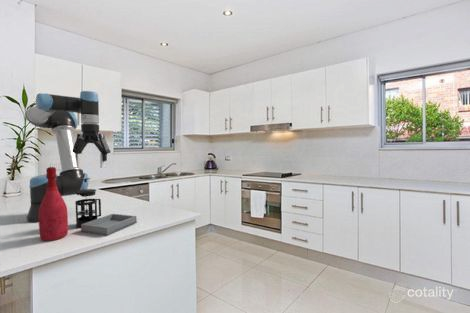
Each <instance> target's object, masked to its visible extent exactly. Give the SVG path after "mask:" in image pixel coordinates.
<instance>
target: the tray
mask: <svg viewBox="0 0 470 313" xmlns="http://www.w3.org/2000/svg"><path fill="white" fill-rule="evenodd" d="M137 220H138V218H137V216H136V215H128V214H119V213H111V214H108V215H105V216H100V217H99V218H97V219H96V220H93V221H90V222H87V223H84V224H81V228H80V229H81V233H84V234H92V235H99V236H104V237H105V236H106V237H107V236H110V235H113V234H115V233H117V232H119V231H122V230H124V229H126V228H128V227H130V226H133V225H136V224H137V222H138V221H137ZM135 223H136V224H135Z"/></svg>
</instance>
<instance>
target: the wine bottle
mask: <svg viewBox="0 0 470 313" xmlns="http://www.w3.org/2000/svg"><path fill="white" fill-rule="evenodd" d="M46 174H47V175H46V178H47V179H48V187H47V191H46V194H45V196H44V198H43V200H42V203H41V205H40V209H39V222H38V229H39V237H40V239H41V241H45V242H50V241H57V240H60V239H62V238H65V237H66V236H68V233H69V230H68V229H69V221H68V220H69V216H68V214H69V213H68V208H67V207H68V206H67V204H66V202H65V200H64V198H63V196H61V195H60V193H59V191H58V188H57V186H56V179H55V178H56V177H57V176H58V175H57V176H56V174H57V167H54V166H49V167H47V168H46Z"/></svg>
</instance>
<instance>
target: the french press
mask: <svg viewBox="0 0 470 313" xmlns="http://www.w3.org/2000/svg"><path fill="white" fill-rule="evenodd" d="M88 179H89V180H91V178H90V177H88V178H82V179H80V180H84V182H85V189H84V190H78V191H75V193H76V194H75V195H76V196H81V197H83V199H78V200H75V204H74V205H75V218H76V219H75V223H76V224H75V227H76V228H78V229H81V224H84V223H87V222H90V221H93V220H96V219H98V217H99V218H100V217H102V201H101V199H100V198H87V197H93V196H95V195H96V192H97V189H95V188H87V189H86V182H87V180H88ZM97 203H98V204H97ZM93 205H94V207H93ZM97 205H98V206H97ZM78 206H79V207H80V211H79V210H78V209H79V207H78ZM93 208H94V209H93ZM79 216H80V217H79Z"/></svg>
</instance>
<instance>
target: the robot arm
mask: <svg viewBox="0 0 470 313" xmlns="http://www.w3.org/2000/svg"><path fill="white" fill-rule="evenodd" d="M79 94H80V95H79V97H78V96H77V97H76V96H66V95H58V94H49V93H43V92H41V93H37V94H36V97H35V106H32V107H29V108H28V109H27V111H26V112H25V118H26V120H27V121H28V122H29V123H30V124H31V125H32V126H35V127H37V128H41V129H51V131H52V133H53V134H55V138H56V142H57V143H56V144H57V149H58V156H59V161H60V167H61V171H60V172H59V175H58V174H57V173H56V176H57V177H56V178H55V179H56V186H57V188H58V191H59V193H60V195H61V197H65V196H73V195H77V194H76V193H75V191H78V190H84V189H85V182H84V180H80V179H82V178H89V175H88V173H86V172H84V171H83V169H82V167H84V159H83V158H84V157H83V155H84V154H83V153H82V152H83V151H84V150H85V148H86V146H87V145H88V144H93V145H94V146H95V147H96V149H97V150H98V151H99V152H100V155H99V158H100V159H99V161H100V163H99V164H100V166H99V167H100V169H105V168H107V160H108V158H107V157H108V154H110V153H111V150H110V147H109V145H108V143H107V140H106V139H105V134H104V133H99V132H100V125H99V123H100V116H99V113H100V112H99V109H100V108H99V107H100V106H99V104H100V103H99V94H98V93H97V92H95V91H91V90H90V91H89V90H82V91H80V93H79ZM75 113H77V114H80V123H81V126H80V129H81V132H82V133H77V134H76V139H75V138H74V134H73V133H74V132H75V131H76V129H77V127H78V118H77V115H76V114H75ZM46 175H47V173H46V174H40V175H37V176H36V175H35V176H33V177H31V178H30V179H29V192H30V193H29V195H30V196H29V197H30V208H29V209H28V210H29V211H28V213H27V216H26V220H27V222H29V223H39V209H40V205H41V203H42V200H43V198H44V196H45V194H46V191H47V187H48V179H47V178H46ZM89 180H90V179H88V180H87V182H86V189H89V188H88V187H89Z"/></svg>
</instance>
